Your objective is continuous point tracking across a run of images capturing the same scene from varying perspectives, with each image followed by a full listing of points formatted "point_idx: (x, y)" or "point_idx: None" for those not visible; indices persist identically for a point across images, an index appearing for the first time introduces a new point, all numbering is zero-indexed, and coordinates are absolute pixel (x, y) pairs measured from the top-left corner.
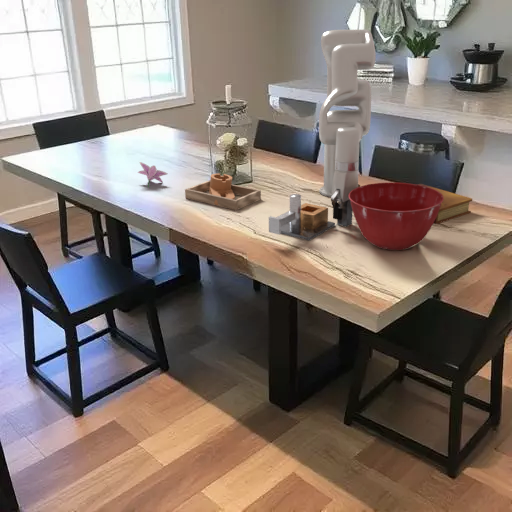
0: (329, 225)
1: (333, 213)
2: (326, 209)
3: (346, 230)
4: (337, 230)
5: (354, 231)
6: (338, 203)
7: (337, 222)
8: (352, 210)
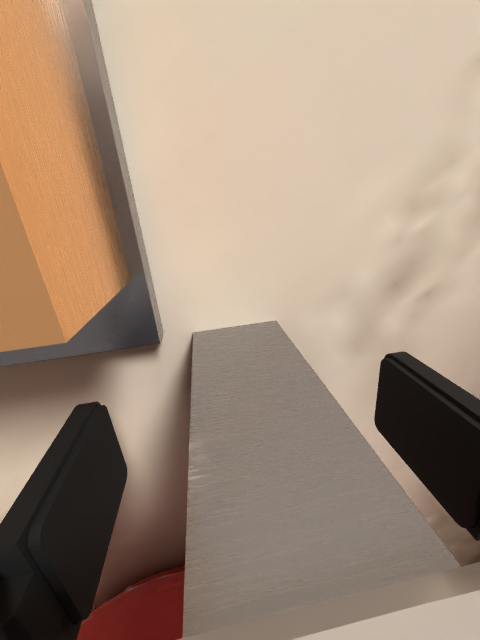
0: (72, 348)
1: (53, 449)
2: (7, 347)
3: (151, 437)
4: (102, 402)
5: (175, 474)
6: (189, 524)
7: (193, 342)
8: (381, 404)
